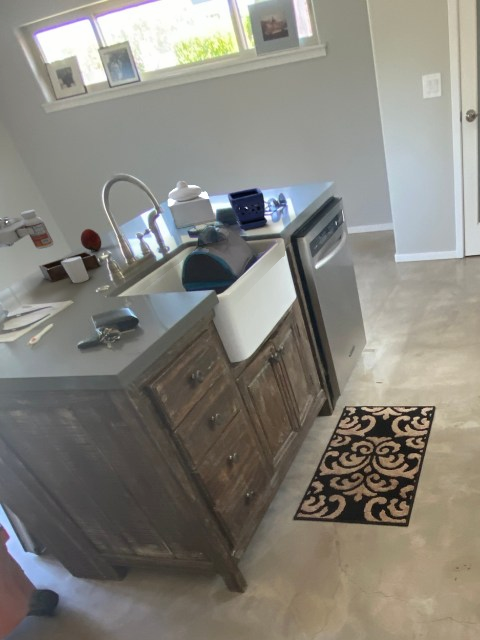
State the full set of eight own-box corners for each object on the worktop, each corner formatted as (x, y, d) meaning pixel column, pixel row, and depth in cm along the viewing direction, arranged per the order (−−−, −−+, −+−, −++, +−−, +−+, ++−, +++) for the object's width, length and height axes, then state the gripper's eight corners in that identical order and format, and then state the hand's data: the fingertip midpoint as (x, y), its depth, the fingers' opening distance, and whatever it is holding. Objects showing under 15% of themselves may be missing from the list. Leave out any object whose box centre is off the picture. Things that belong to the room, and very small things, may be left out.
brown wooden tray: (52, 281, 187) (46, 270, 185) (44, 277, 193) (38, 266, 190) (100, 266, 196) (94, 254, 193) (91, 262, 201) (86, 251, 198)
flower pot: (271, 225, 211) (263, 192, 203) (239, 232, 208) (230, 199, 200) (265, 219, 220) (258, 187, 212) (235, 225, 218) (226, 193, 210)
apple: (108, 248, 215) (99, 227, 210) (92, 254, 211) (82, 232, 206) (98, 247, 219) (89, 226, 213) (82, 252, 214) (72, 231, 209)
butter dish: (213, 212, 242) (200, 173, 232) (215, 220, 229) (203, 179, 219) (175, 220, 240) (161, 180, 229) (176, 229, 227) (161, 187, 216)
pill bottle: (41, 244, 187) (23, 210, 180) (57, 242, 186) (40, 208, 179) (33, 250, 182) (14, 215, 175) (49, 247, 182) (31, 212, 174)
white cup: (85, 282, 182) (75, 261, 177) (67, 284, 182) (56, 263, 178) (94, 275, 187) (84, 255, 182) (76, 277, 187) (66, 257, 183)
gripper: (-21, 231, 171) (19, 225, 171) (8, 215, 186) (45, 210, 186) (-9, 251, 175) (30, 245, 175) (19, 234, 190) (55, 229, 190)
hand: (38, 227), depth 180 cm, fingers closed on pill bottle, 6 cm apart
